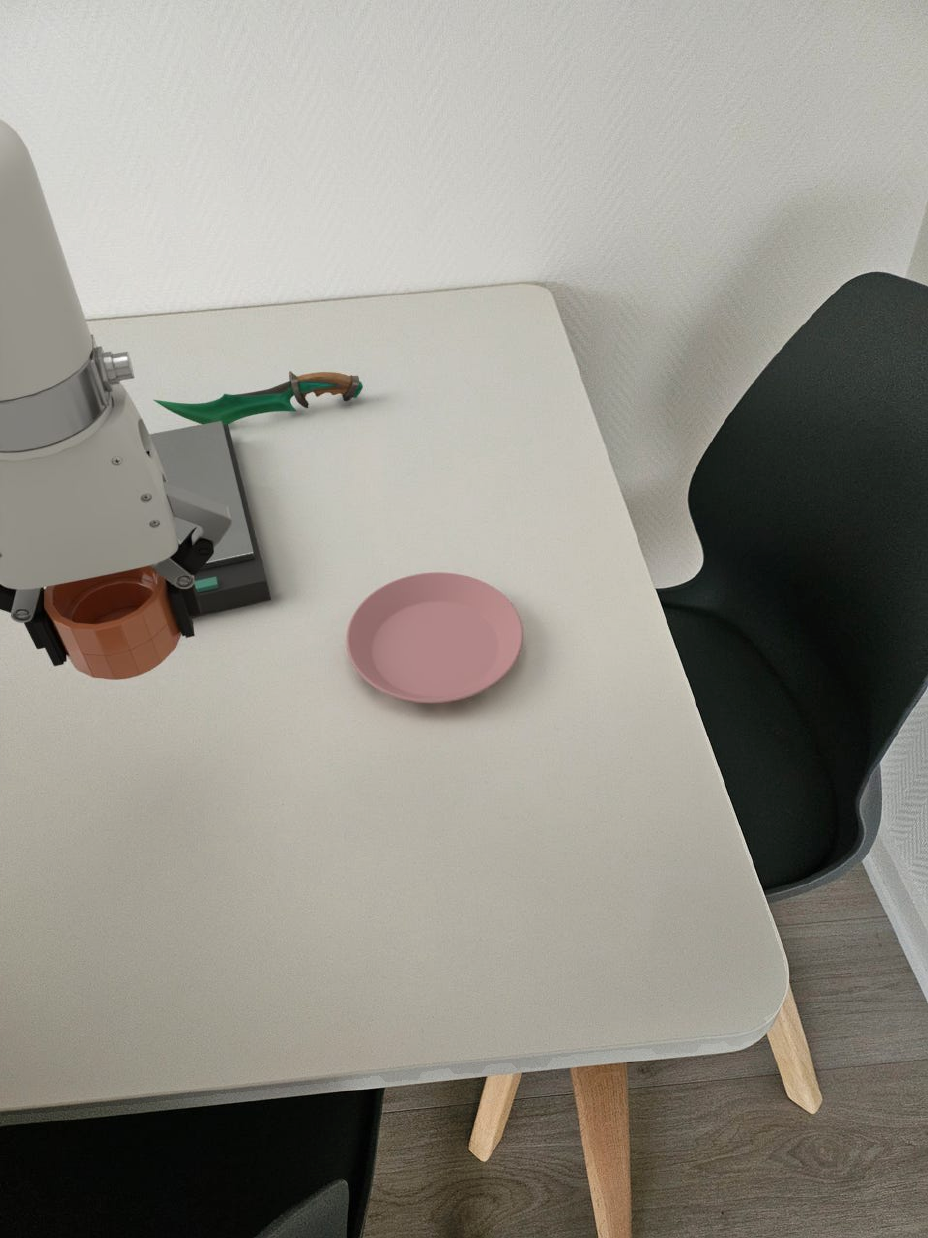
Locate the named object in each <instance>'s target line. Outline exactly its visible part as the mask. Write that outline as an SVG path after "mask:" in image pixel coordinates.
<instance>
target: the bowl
mask: <svg viewBox="0 0 928 1238" xmlns="http://www.w3.org/2000/svg"><path fill="white" fill-rule="evenodd" d="M44 589H45V591H44V609H45V611H46V613H47V615H48V617H49V619H50V621H51V623H52V625H53V628H54V630H55V632H56V633H57V636H58V638H59V640H60V642H61V644H62V646H63V648H64V650H65V653H66V655H67V658H68V660H69V661H70V663H71V664H72V666H73V667H74V668H75V670H76V671H78V672H80V673H82V674H85V675H87V676H89V677H90V678H93V679H101V680H102V679H104V680H112V681H119V680H127V679H131V678H137V677H138V676H141V675H144V674H146V673H148V672H150V671H152V670H153V669H156V668H157V667H158V666H159V665H161V664H162V663H163V662H164V661H166V659H167V658H168V657H169V656H170V655H171V654H172V653H173V652H174V651H175V650H176V648H177V646H178V644H179V641H180V639H181V637H182V634H181V631H180V628H179V625H178V622H177V619H176V616H175V613H174V610H173V608H172V605H171V602H170V599H169V595H168V586H167V580H166V579H165V578H164V577H163V576H161V575H160V574H159V573H157V572H156V571H155V570H154V569H152V568H151V567H150V566H145V567H140V568H136V569H131V570H127V571H122V572H117V573H113V574H108V575H103V576H98V577H93V578H88V579H83V580H78V581H73V582H68V583H63V584H58V585H52V586H47V587H45V588H44Z"/></svg>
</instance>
